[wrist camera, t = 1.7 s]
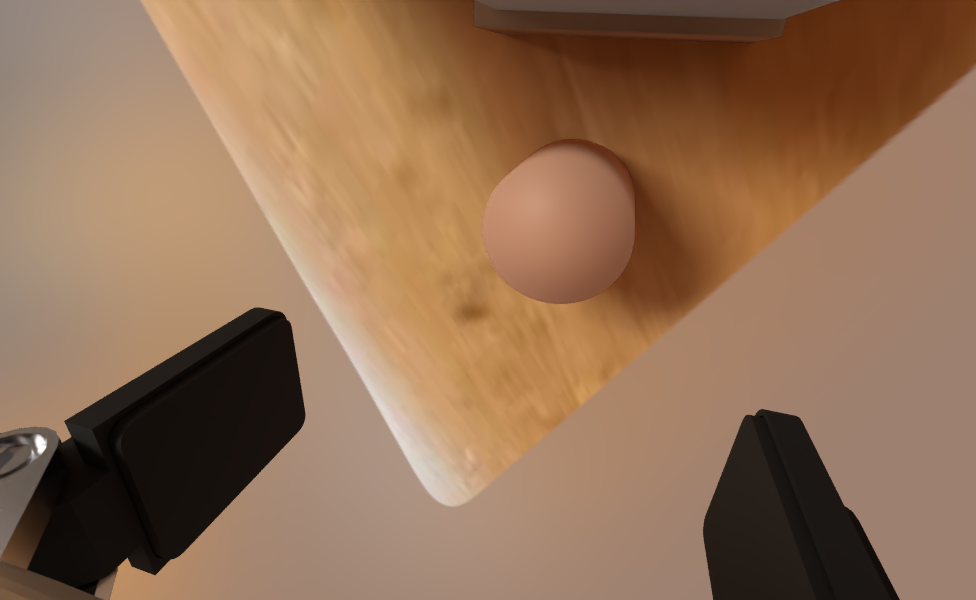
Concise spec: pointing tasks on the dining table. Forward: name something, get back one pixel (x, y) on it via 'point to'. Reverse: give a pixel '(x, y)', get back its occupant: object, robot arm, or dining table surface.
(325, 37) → the dining table surface
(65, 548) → the robot arm
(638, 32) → the walnut base block
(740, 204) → the dining table surface
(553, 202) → the peach rounded cylinder
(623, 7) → the slate top block
